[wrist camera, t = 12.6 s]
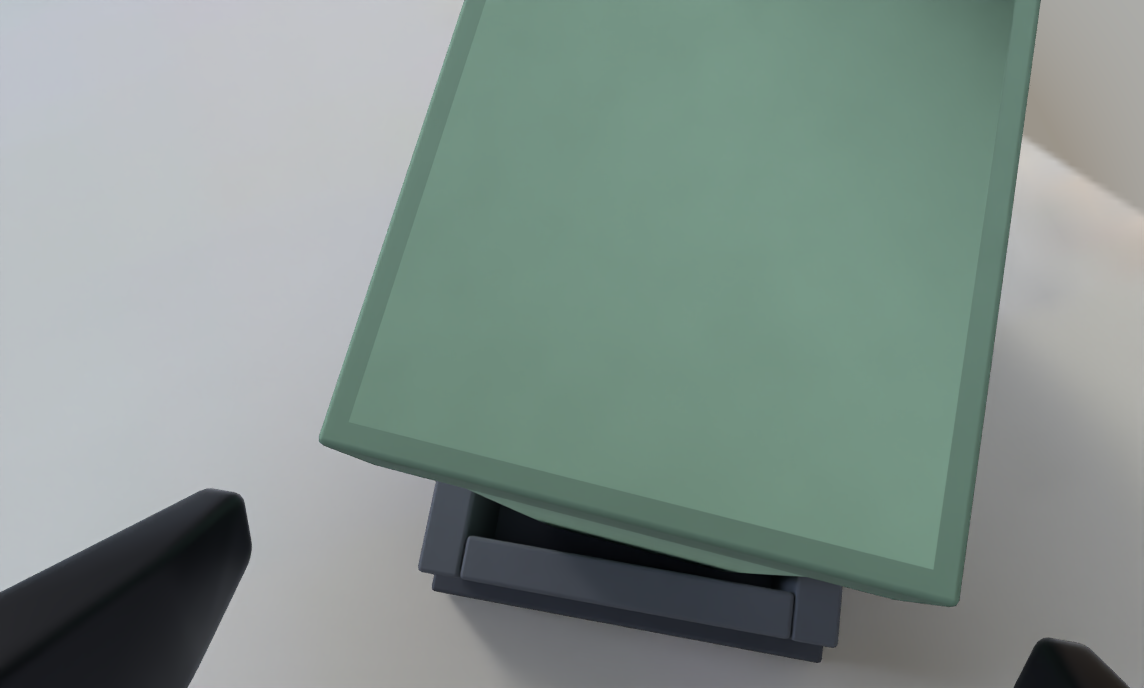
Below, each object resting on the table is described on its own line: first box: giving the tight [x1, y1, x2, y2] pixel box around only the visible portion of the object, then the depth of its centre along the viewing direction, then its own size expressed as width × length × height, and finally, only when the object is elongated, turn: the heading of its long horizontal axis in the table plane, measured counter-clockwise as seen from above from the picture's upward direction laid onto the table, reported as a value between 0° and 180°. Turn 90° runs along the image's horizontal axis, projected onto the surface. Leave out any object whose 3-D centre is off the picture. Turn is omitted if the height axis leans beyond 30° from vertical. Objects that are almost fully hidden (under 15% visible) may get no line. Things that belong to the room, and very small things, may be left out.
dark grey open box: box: [418, 481, 843, 663], centre depth 18 cm, size 12×8×4 cm
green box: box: [319, 0, 1041, 607], centre depth 12 cm, size 7×4×13 cm, turn 166°
